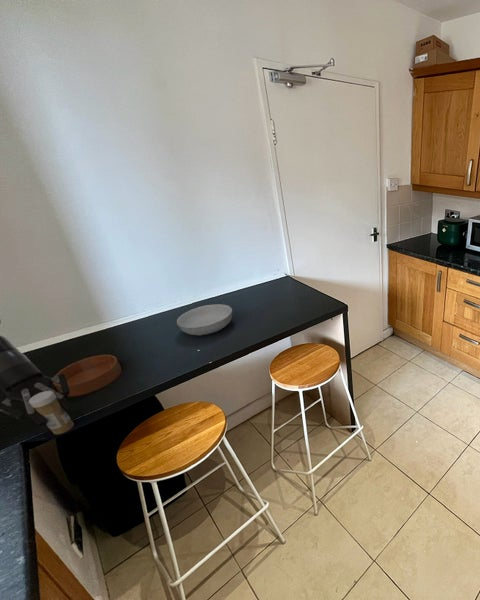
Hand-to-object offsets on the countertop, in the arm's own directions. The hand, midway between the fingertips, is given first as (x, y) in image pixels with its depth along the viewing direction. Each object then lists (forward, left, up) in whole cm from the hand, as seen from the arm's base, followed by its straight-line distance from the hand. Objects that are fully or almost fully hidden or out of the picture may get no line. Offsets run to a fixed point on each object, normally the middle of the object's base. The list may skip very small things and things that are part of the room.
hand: (57, 416), depth 85 cm
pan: (+8, +25, -7) cm, 27 cm away
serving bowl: (+48, +29, -7) cm, 57 cm away
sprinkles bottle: (-1, +2, -7) cm, 7 cm away
